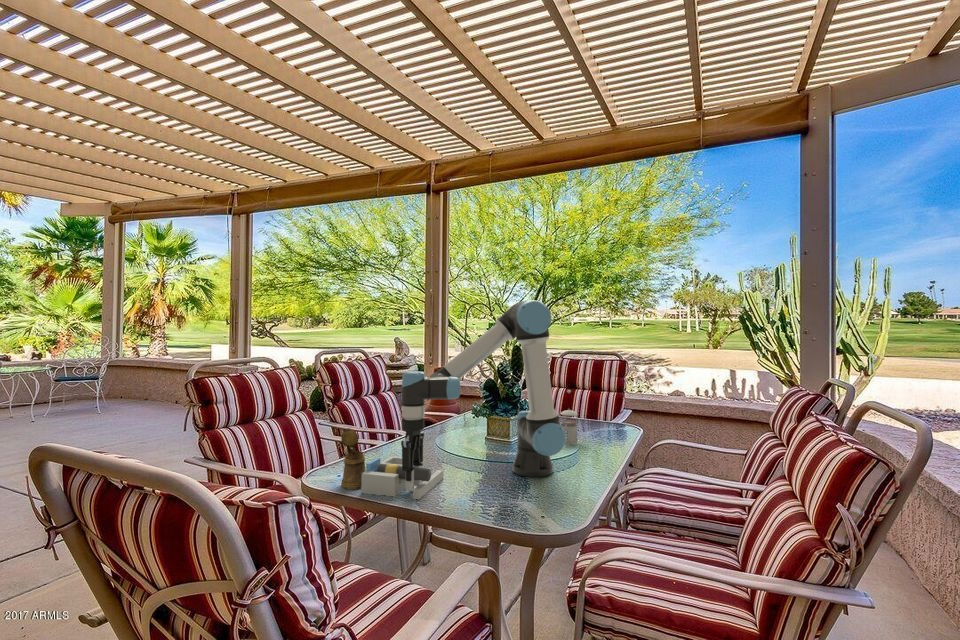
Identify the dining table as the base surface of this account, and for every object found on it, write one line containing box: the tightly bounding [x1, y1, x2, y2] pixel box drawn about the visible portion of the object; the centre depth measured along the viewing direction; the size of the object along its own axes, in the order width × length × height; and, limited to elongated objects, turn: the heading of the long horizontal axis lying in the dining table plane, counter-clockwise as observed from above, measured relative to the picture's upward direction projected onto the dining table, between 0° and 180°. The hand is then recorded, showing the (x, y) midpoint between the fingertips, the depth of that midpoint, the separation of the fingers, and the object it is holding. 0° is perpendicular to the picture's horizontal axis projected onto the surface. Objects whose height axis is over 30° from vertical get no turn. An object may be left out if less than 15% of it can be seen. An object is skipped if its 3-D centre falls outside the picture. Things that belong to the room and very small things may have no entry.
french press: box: [560, 389, 580, 446], centre depth 227 cm, size 10×12×25 cm
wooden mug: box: [340, 428, 366, 490], centre depth 167 cm, size 9×14×18 cm, turn 30°
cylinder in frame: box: [360, 455, 444, 501], centre depth 164 cm, size 20×22×9 cm
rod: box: [377, 464, 432, 482], centre depth 159 cm, size 18×4×4 cm, turn 74°
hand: (412, 487), depth 158 cm, fingers closed on rod, 4 cm apart
